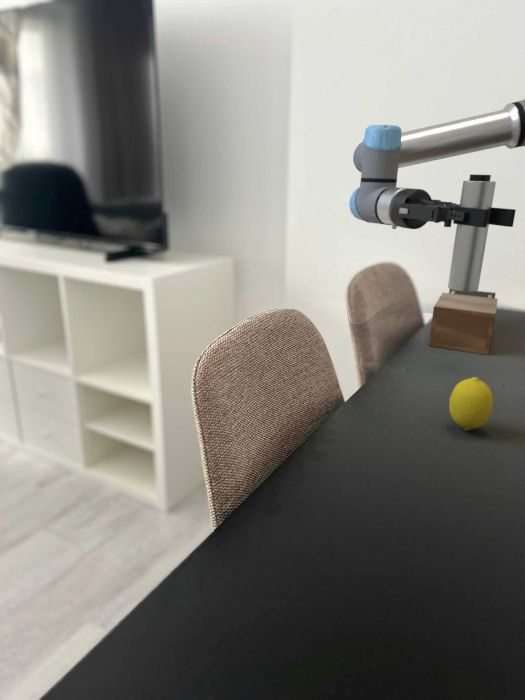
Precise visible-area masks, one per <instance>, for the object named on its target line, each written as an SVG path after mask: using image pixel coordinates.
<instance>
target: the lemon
mask: <svg viewBox="0 0 525 700" xmlns="http://www.w3.org/2000/svg"><path fill="white" fill-rule="evenodd" d="M448 406H449V415H450V416H451V419H452V420H453V422H454V423H456V424H457V425H458V426H460V427H461V428H462V430H465V431H466V432H467V431H468V432H469V431H470V430H472V429H478V428H481V427H482V426H483V425H485V424H486V423H487V422H488V421H489V419H490V418H491V415H492V413H493V408H494V407H493V406H494V400H493V392H492V390H491V388H490V387H489V385H487V384H486V382H484V381H482V380H481V379H480V378H479V377H477V376H472V377H471V378H465V379H463V380H461V381H460V382H458V383H457V384H456V385H455V386H454V388H453V390H452V392H451V394H450V398H449V402H448Z"/></svg>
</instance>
